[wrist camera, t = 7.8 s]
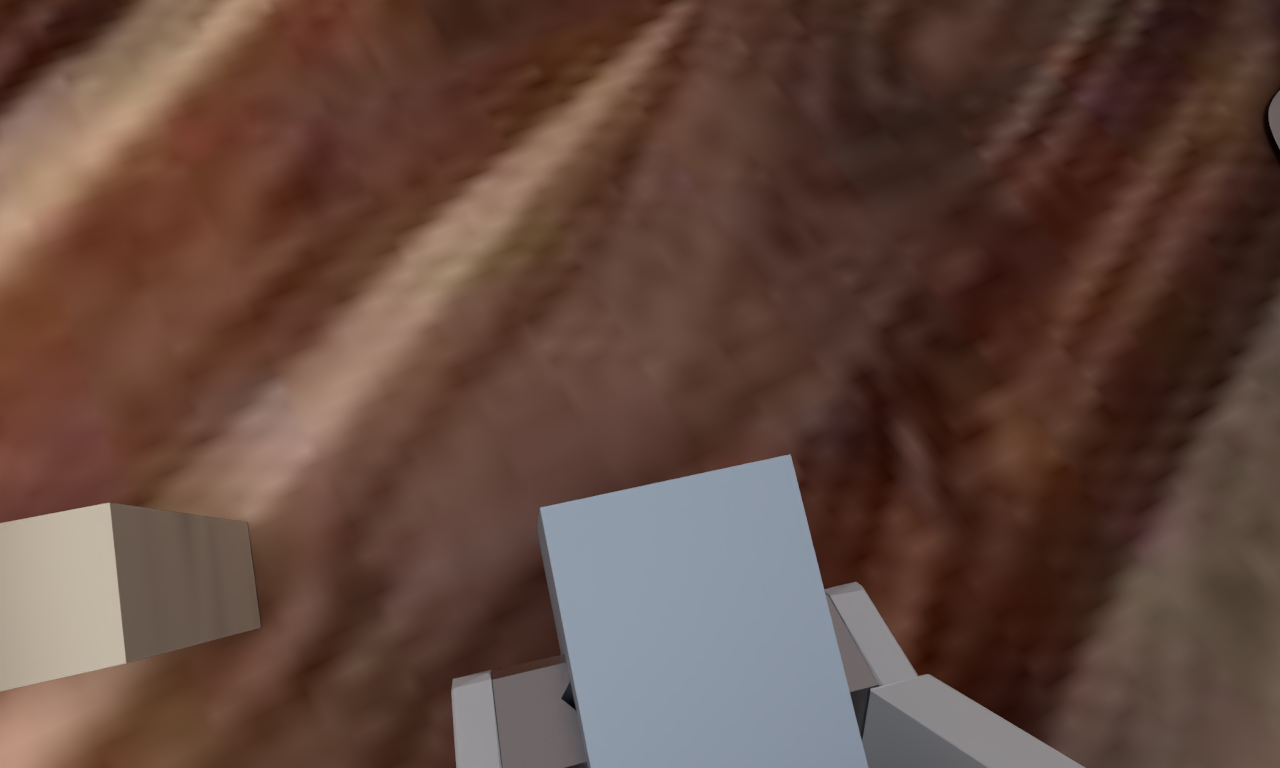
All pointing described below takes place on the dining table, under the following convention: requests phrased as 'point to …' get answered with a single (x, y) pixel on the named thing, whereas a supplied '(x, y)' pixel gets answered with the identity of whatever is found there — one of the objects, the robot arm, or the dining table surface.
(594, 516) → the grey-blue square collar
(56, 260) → the dining table surface
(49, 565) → the beech slot board
